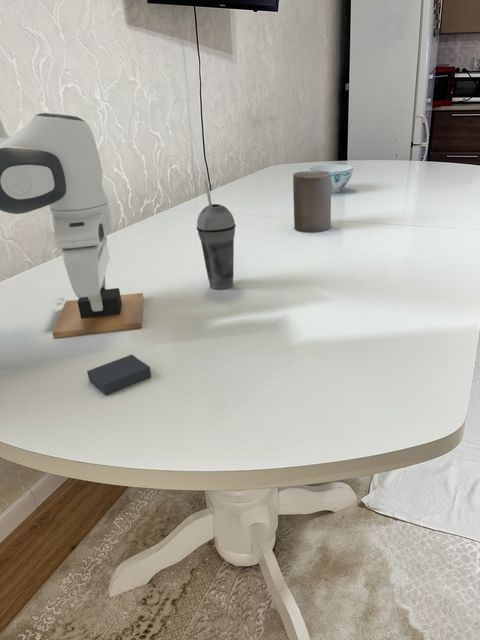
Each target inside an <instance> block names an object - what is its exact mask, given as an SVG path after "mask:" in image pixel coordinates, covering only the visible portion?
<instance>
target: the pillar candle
mask: <svg viewBox="0 0 480 640" xmlns="http://www.w3.org/2000/svg"><path fill="white" fill-rule="evenodd" d="M292 187H293V188H292V189H293V190H292V191H293V195H292V196H293V224H294V225H293V229H294V230H295V231H298V232H302V233H318V232H324V231H327V230H330V229H331V225H332V224H331V223H332V221H331V220H332V193H331V173H330V172H326V171H312V168H311V171H308V170H305V171H297V172H294V173H293V175H292Z"/></svg>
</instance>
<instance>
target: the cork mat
mask: <svg viewBox="0 0 480 640" xmlns="http://www.w3.org/2000/svg"><path fill="white" fill-rule="evenodd" d="M120 296H121V301H122V306H121V312H120V314H118V315H109V316H100V317H91V318H82V319H81V316H80V312H79V307H78V303H77V302H78V300H79V299H73V300H72V299H71V300H66V301H65V302H64V304H63V307H62V309H61V311H60V313H59V315H58V318H57V321H56V322H55V323H56V324H55V326H54V327H53V330H52V337H53V339H59V338H67V337H76V336H85V335H95V334H102V333H111V332H118V331H119V332H120V331H128V330H136V329H142V325H143V312H144V311H143V309H144V298H145V297H144V293H143V292H136V293H127V294H120Z"/></svg>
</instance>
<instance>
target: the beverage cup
mask: <svg viewBox="0 0 480 640" xmlns="http://www.w3.org/2000/svg"><path fill="white" fill-rule="evenodd" d="M203 182H204V187H205V192H206V197H207V203H208V205H207V206H205V207H204V208H202V210H201V211H200V212H199V214H198V217H197V220H196V231H197V234H198V237H199V240H200V243H201V250H202V254H203V259H204V264H205V270H206V274H207V280H208V283H209V287H210V289H213V290H218V291H219V290H226V289H230V288H232V287H234V260H235V259H234V256H235V255H234V252H235V251H234V243H235V235H236V227H237V225H236V223H235V222H236V221H235V218H234V216H233V214H232V212H231V211H230V210H229V209H228V208H227V207H226V206H224V205H223V204H219V203H212V199H211V193H210V188H209V184H208V180H207V179H204V181H203Z"/></svg>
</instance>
